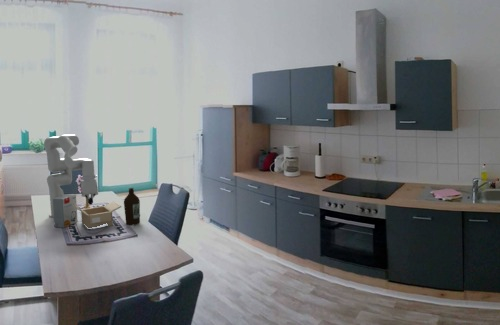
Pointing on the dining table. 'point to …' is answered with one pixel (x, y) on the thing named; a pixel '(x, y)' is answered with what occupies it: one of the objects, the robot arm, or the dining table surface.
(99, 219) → the carton
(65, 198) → the hard drive box
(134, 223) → the olive oil
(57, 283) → the dining table surface
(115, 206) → the flap
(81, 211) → the flap
